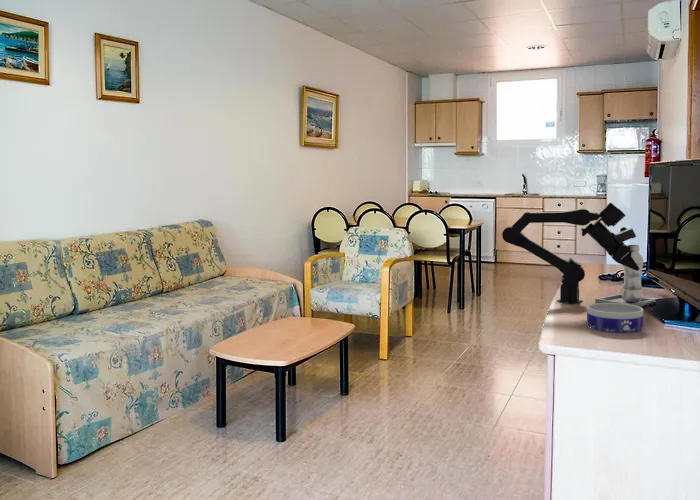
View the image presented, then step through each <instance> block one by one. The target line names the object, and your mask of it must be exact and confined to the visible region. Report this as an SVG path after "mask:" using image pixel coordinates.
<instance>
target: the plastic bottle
mask: <svg viewBox="0 0 700 500" xmlns="http://www.w3.org/2000/svg"><path fill="white" fill-rule="evenodd" d="M627 246H628V247H629V248H630V249H631V251H632V252H631V257H632V258H633V260H634V261H635V263H636V264H637V265H638V267H639V268H640V269H639V270H638V271H636V270H634V269H631V268H629V267H627V266H624V265H622V267H623V285H622V290H621V295H622V299H623V300H624V301H626V302H630V303H635V302H640V301H641V300H642V298H643V290H642V289H643V288H642V271H643V267H644V259H643V258H644V257H642V255H641V254H640V252H639V251H640V245H639V244H627Z"/></svg>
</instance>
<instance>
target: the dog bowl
mask: <svg viewBox="0 0 700 500" xmlns="http://www.w3.org/2000/svg"><path fill="white" fill-rule="evenodd" d="M586 323H587V325H588V326H589V327H591V328H593V329H592V330H594V329H596V330H595V331H598V330H600V331H599V332H603V331H604V332H605V333H612V334H615V333H616V334H630V333H632V334H633V333H637V332H641V331H642V330H643V326H644V308H643V307H639V306H636V305H631V304H623V303H591V304H588V305H587V306H586ZM588 326H587V327H588ZM589 327H588V328H589ZM591 328H590V329H591Z"/></svg>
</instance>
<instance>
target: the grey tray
mask: <svg viewBox="0 0 700 500" xmlns="http://www.w3.org/2000/svg"><path fill="white" fill-rule="evenodd" d="M594 300H595V303H594V304H596V303H623V304H631V305H636V306H639V307H641V308H643V307H642V306H644V305H645V304H647V303H651V302H657V300H656V299H654V298H647V297H642V300H641V301H640V302H635V303H630V302H626V301H624V300H623V299H622V293H618V294H614V295H608V296H602V297H598V298H595V299H594ZM644 307H645V306H644Z"/></svg>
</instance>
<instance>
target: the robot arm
mask: <svg viewBox="0 0 700 500" xmlns="http://www.w3.org/2000/svg"><path fill="white" fill-rule="evenodd" d="M625 217H626V214H625V213H624V212H623V211H622V210H621V209H620V208H619V207H617V206H616V205H614V203H612V202H609V203H608V204H607V205H606V207H604V208H603V209H602V210H601V211H600V212H591V211H589V210H588V209H586V208H576V209H571V210H567V211H549V212H545V211H544V212H540V211H539V212H531V211H526V212H524V213H523V214H522V215H521V216H520V218H518V220H517V221H516V222H514V223H513V224H512V225H509V226H507V227H505V228H504V229H503V231H502V233H501V235H502V240H503V241H504V242H505V243H507V244H510V245H513V246H514V247H519V248H522V249H524V250H526V251H527V252H529V253H530V254H533V255H534V256H536V257H538V258H539V259H541V260H542V261H545V262H546V263H548V265H549V264H550V265H551V266H553V267H555V268H556V269H557V270H558V271H560V273H562V276H561V277H560V281H561V284H560V288H559V289H560V294H559V297H560V298H559V299H556V302H560V303H565V304H569V305H570V304H572V305H573V304H576V303H577V304H578V303H581V302H583V299H580V282H581V281H583V280H584V279H585V276H586V274H585V273H586V272H585V270H584V268H583V266H582V264H581V262H578V261H575V260H574V259H573V258H571V257H569V259H564V258H562V257H560V256H559V255H556V254H555V253H553V251H550V250H548V249H547V248H544V247H543V246H542V245H540V244H538V243H536V242H535V241H533V240H531V239H530V238H528V237H527V236H526V235H525V234H524V233H523V232H522V231H523V230H525V229H526V228H527V226H528V225H529V224H535V223H536V224H538V223H539V224H540V223H541V224H543V223H545V224H547V223H551V224H553V223H555V224H556V223H557V224H558V223H565V224H570V225H576V226H581V236H582V237H585V236H586V235H589V236H590V238H592V239H593V240H594V241H595V242H596V243H597V244H598V245H599V246H600V247H601V248H602V249H603V250H604V251H605V252H606V253H607V254H608V255H609V257H611V258H612V260H614V261H615V262H616V263H617V264H620V265H621V266H623V265H624V266H627V267H629V268H631V269H634V270H636V271H638V270H639V269H640V268H639V267H638V265H637V264H636V263H635V261H634V260H633V258H632V257H631V252H632V251H631V249H630V248H629V247H628V244H625V242H626V241H628V240H631V239H634V238H636V237H637V234H636V232H635V231H634V229H633V228H632V227H629V228H627V227H625V226H622V227H620V228H619V232H617V233H614V232H611V231H610V229H608V228H609V227H611V226H612V227H615V226H616V225H617V224H618V223H619V222H621V221H622V220H623V219H624V218H625ZM593 221H595V222H594V223H592V222H593ZM602 222H603V223H604V224H605V225H606V226H607V227H608V228H607V227H606V226H605V225H604V224H603V223H602ZM583 226H586V227H585V228H583Z"/></svg>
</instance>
